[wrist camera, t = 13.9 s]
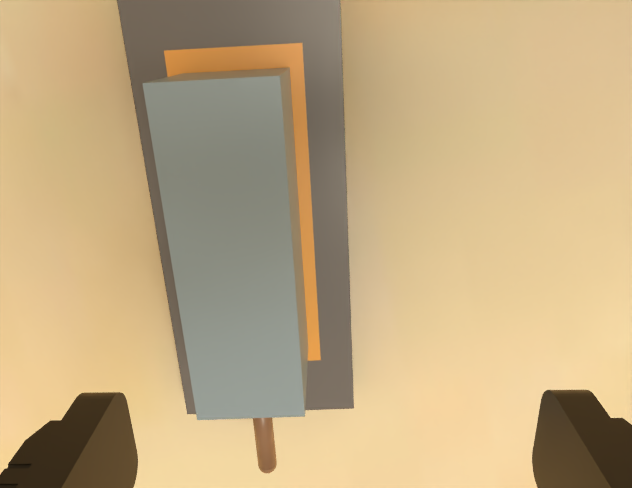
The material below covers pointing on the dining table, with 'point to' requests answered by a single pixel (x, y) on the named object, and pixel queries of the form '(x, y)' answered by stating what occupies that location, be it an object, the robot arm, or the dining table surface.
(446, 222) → the dining table surface
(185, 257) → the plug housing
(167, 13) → the board
